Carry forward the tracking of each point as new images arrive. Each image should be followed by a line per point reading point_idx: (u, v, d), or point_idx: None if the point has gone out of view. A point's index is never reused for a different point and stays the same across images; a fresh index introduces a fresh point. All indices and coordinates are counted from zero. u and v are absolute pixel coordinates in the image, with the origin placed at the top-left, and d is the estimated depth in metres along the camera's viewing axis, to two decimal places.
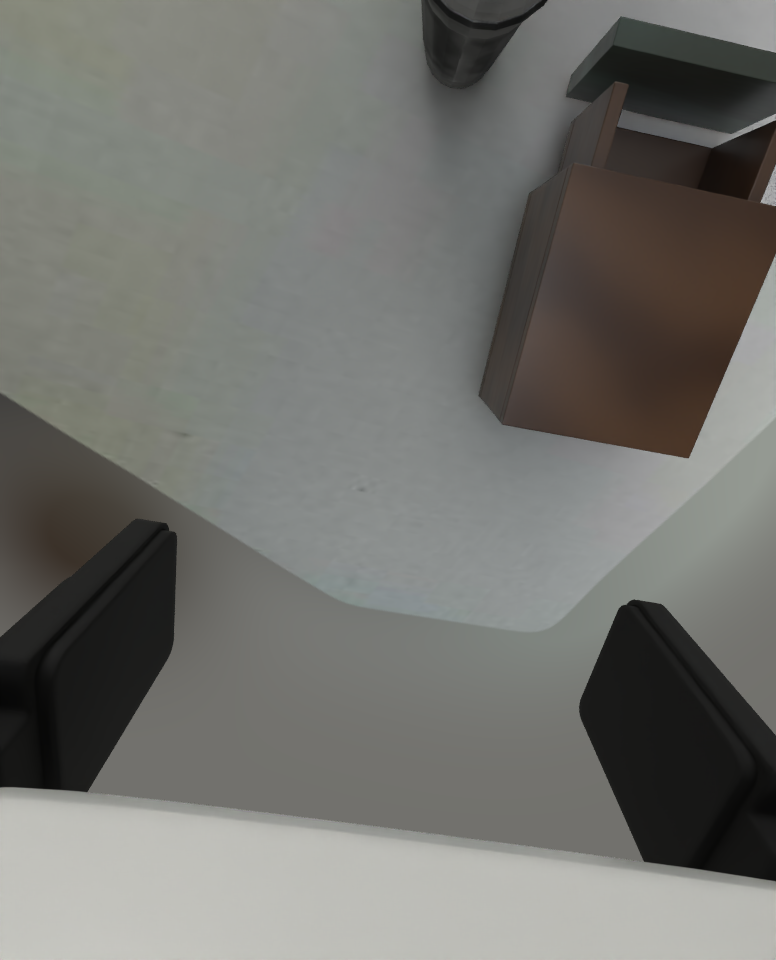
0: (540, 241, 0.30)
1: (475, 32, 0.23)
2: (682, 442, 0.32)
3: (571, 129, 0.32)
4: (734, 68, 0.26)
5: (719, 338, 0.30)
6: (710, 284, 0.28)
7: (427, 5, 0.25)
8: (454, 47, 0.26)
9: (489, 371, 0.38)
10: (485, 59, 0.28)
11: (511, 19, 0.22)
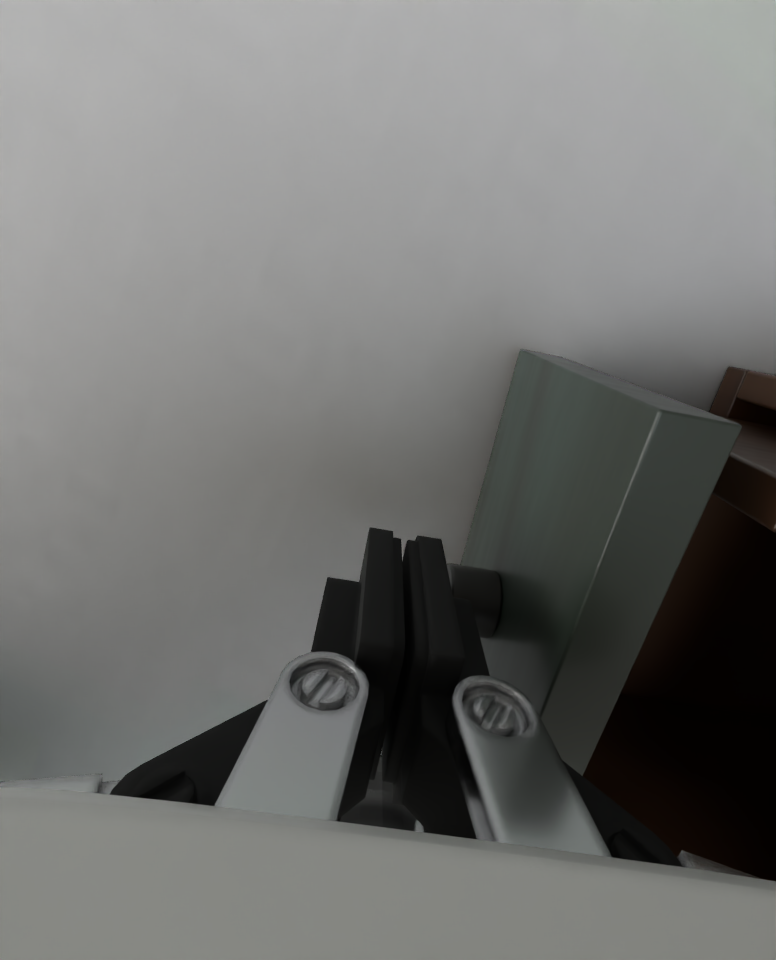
0: None
1: None
2: None
3: None
4: (604, 702, 0.08)
5: None
6: None
7: None
8: None
9: None
10: None
11: None
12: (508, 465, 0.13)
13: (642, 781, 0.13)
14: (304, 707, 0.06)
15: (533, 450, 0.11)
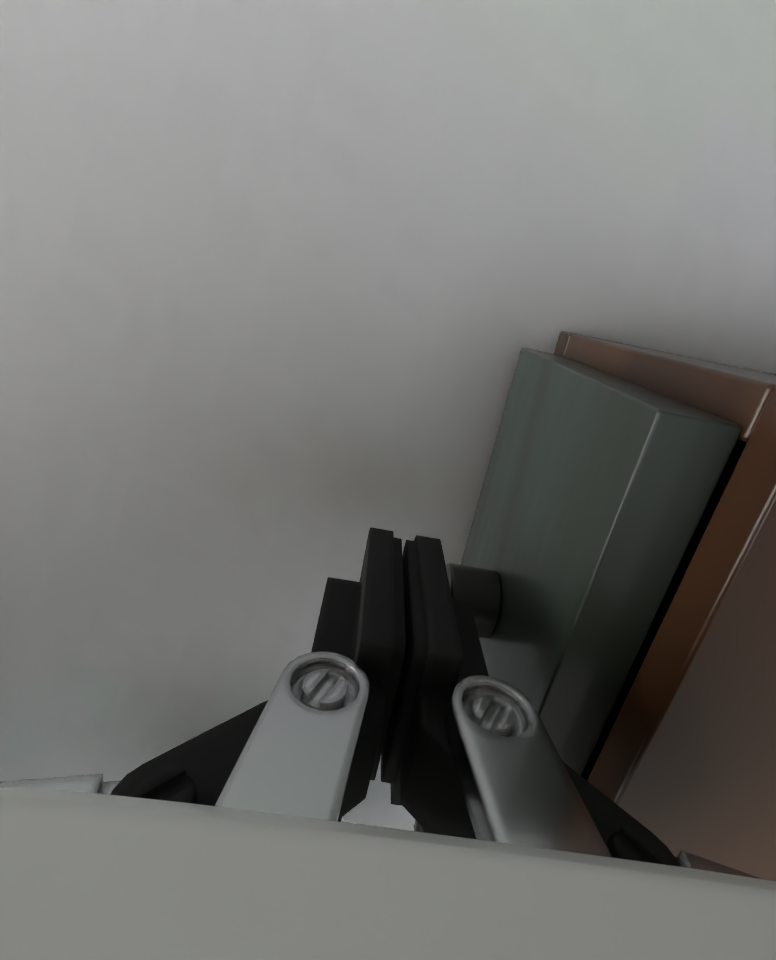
0: None
1: None
2: None
3: None
4: (603, 704, 0.08)
5: None
6: None
7: None
8: None
9: None
10: None
11: None
12: (508, 464, 0.12)
13: None
14: (304, 707, 0.06)
15: (533, 449, 0.11)
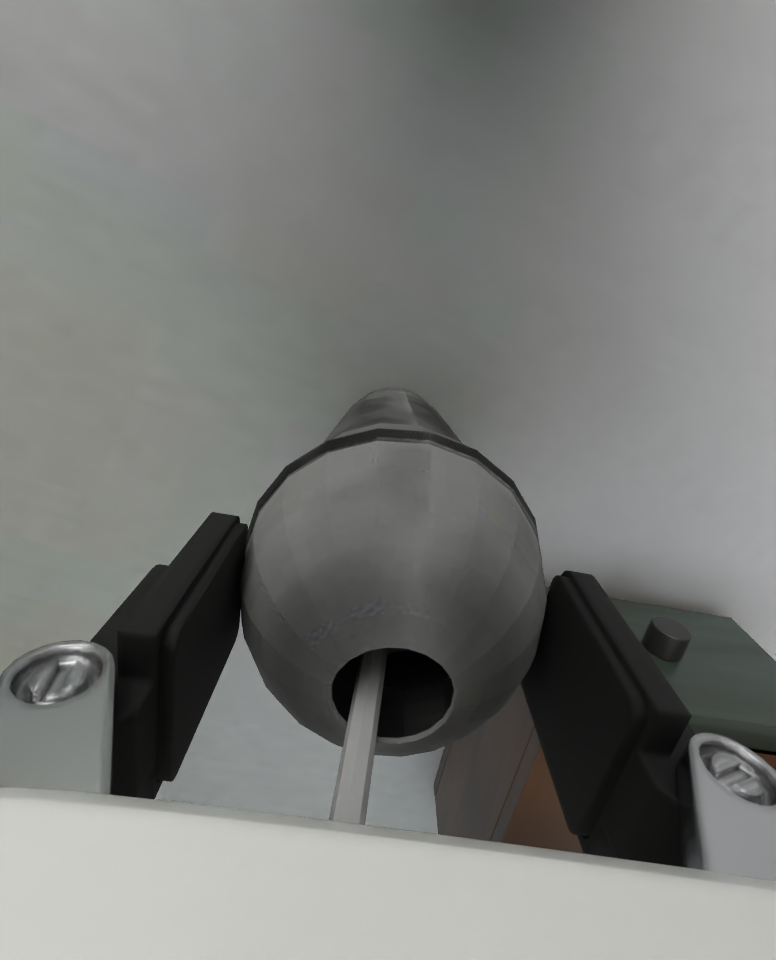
0: (501, 752, 0.21)
1: None
2: None
3: None
4: None
5: None
6: None
7: None
8: None
9: (444, 786, 0.29)
10: None
11: None
12: (701, 633, 0.23)
13: None
14: (38, 707, 0.06)
15: (738, 656, 0.22)
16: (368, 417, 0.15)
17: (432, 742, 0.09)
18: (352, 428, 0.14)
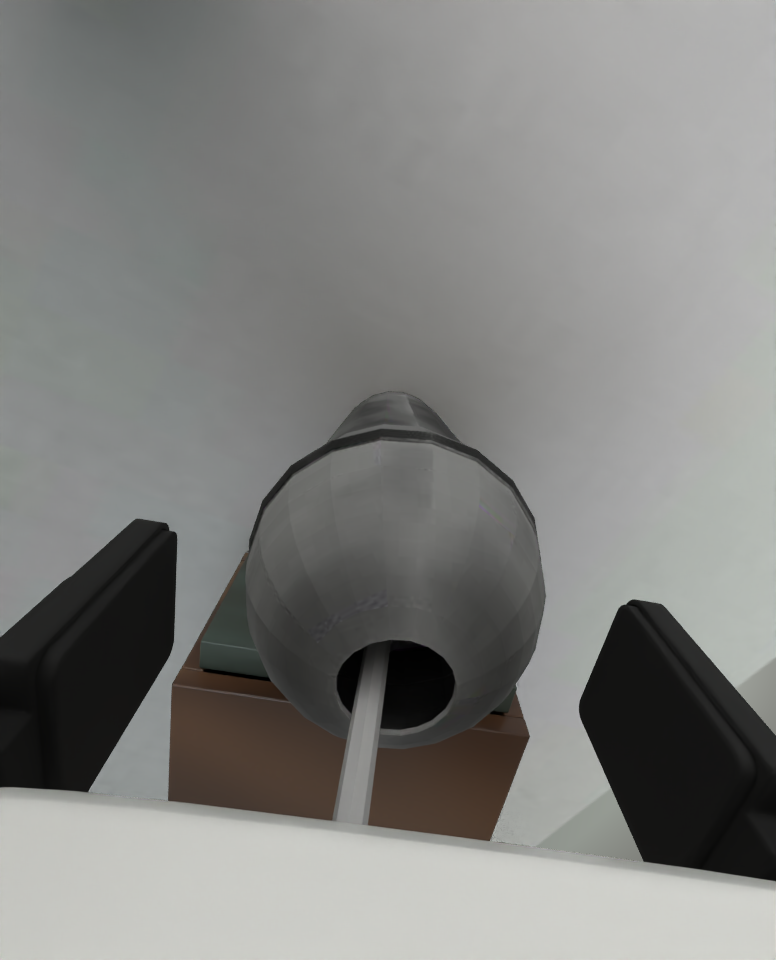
0: None
1: None
2: None
3: None
4: None
5: None
6: (422, 810, 0.19)
7: None
8: None
9: None
10: None
11: None
12: None
13: None
14: None
15: None
16: (370, 419, 0.15)
17: (434, 734, 0.09)
18: (355, 429, 0.14)
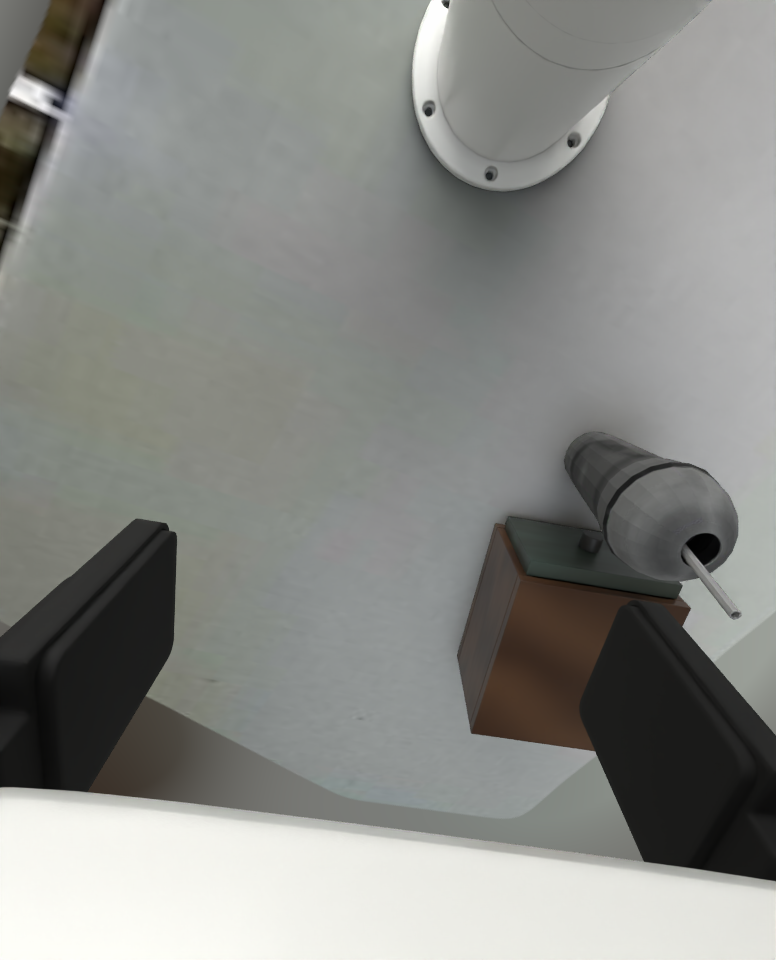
0: (499, 603, 0.38)
1: None
2: None
3: None
4: (613, 586, 0.36)
5: None
6: None
7: (596, 516, 0.34)
8: None
9: (464, 649, 0.46)
10: None
11: None
12: None
13: None
14: None
15: None
16: (629, 453, 0.33)
17: (707, 568, 0.27)
18: (632, 459, 0.32)
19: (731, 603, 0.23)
